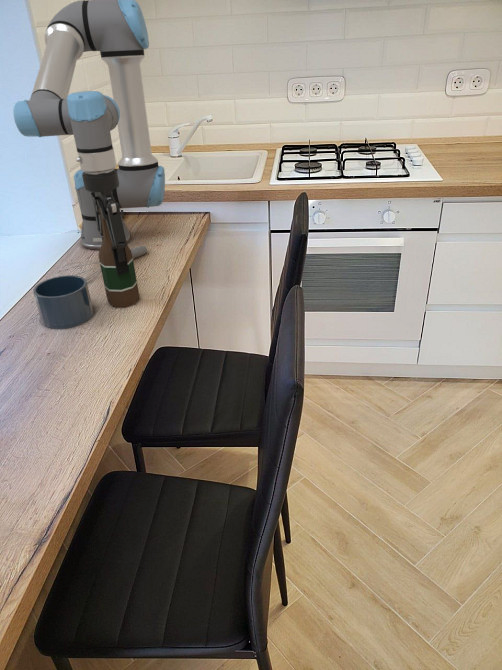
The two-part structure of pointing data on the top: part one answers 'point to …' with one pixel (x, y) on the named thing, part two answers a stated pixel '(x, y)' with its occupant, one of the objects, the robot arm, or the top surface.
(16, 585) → the top surface
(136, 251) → the kitchen whisk
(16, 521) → the top surface
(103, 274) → the beer bottle
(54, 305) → the metal cup
